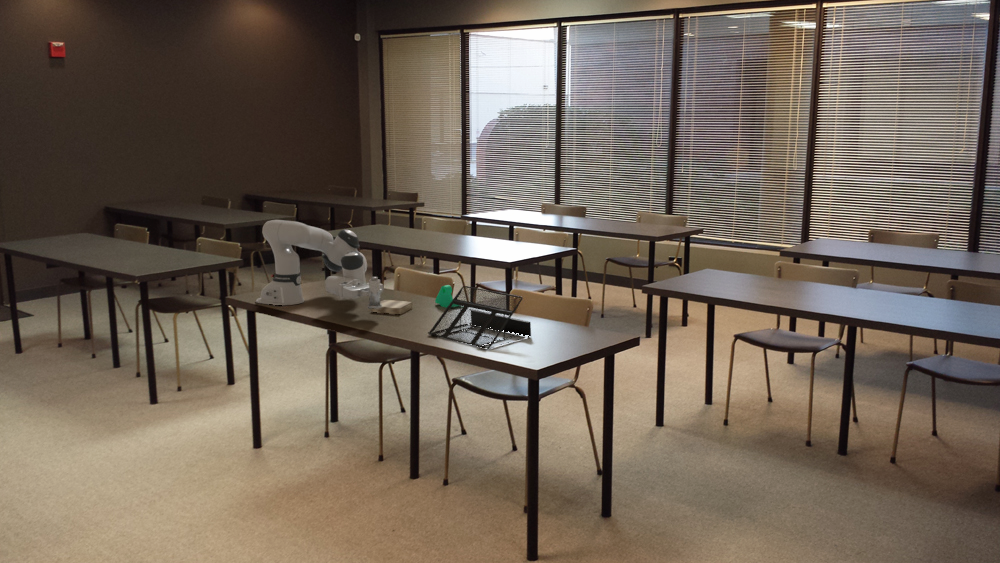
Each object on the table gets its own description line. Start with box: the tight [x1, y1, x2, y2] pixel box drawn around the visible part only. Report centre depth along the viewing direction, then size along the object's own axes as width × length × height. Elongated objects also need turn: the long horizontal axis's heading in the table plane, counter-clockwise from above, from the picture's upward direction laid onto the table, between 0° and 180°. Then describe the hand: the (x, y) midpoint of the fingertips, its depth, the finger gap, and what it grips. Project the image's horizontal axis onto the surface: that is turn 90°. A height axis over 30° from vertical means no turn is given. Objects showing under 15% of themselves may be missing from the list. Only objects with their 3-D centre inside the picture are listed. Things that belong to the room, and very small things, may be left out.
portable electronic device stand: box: [427, 285, 532, 350], centre depth 332 cm, size 33×28×18 cm
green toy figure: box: [435, 284, 459, 309], centre depth 387 cm, size 12×8×10 cm, turn 46°
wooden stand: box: [370, 299, 413, 315], centre depth 377 cm, size 14×14×3 cm
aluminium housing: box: [367, 276, 382, 309], centre depth 355 cm, size 6×6×13 cm
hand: (376, 292), depth 355 cm, fingers closed on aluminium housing, 5 cm apart
